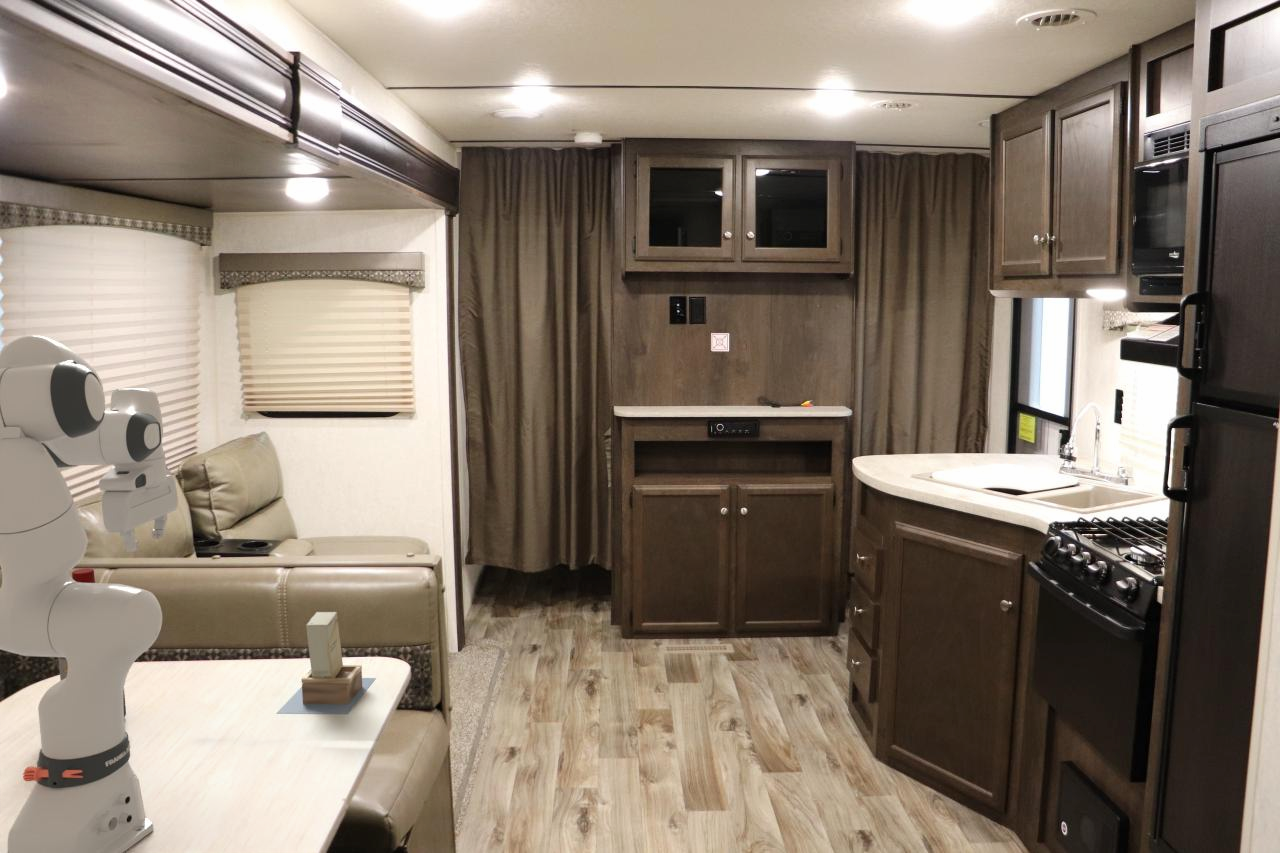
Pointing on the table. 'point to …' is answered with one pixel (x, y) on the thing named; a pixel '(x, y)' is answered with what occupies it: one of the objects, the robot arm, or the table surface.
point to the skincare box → (324, 645)
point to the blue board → (298, 707)
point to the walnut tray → (332, 686)
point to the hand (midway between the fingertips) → (145, 544)
